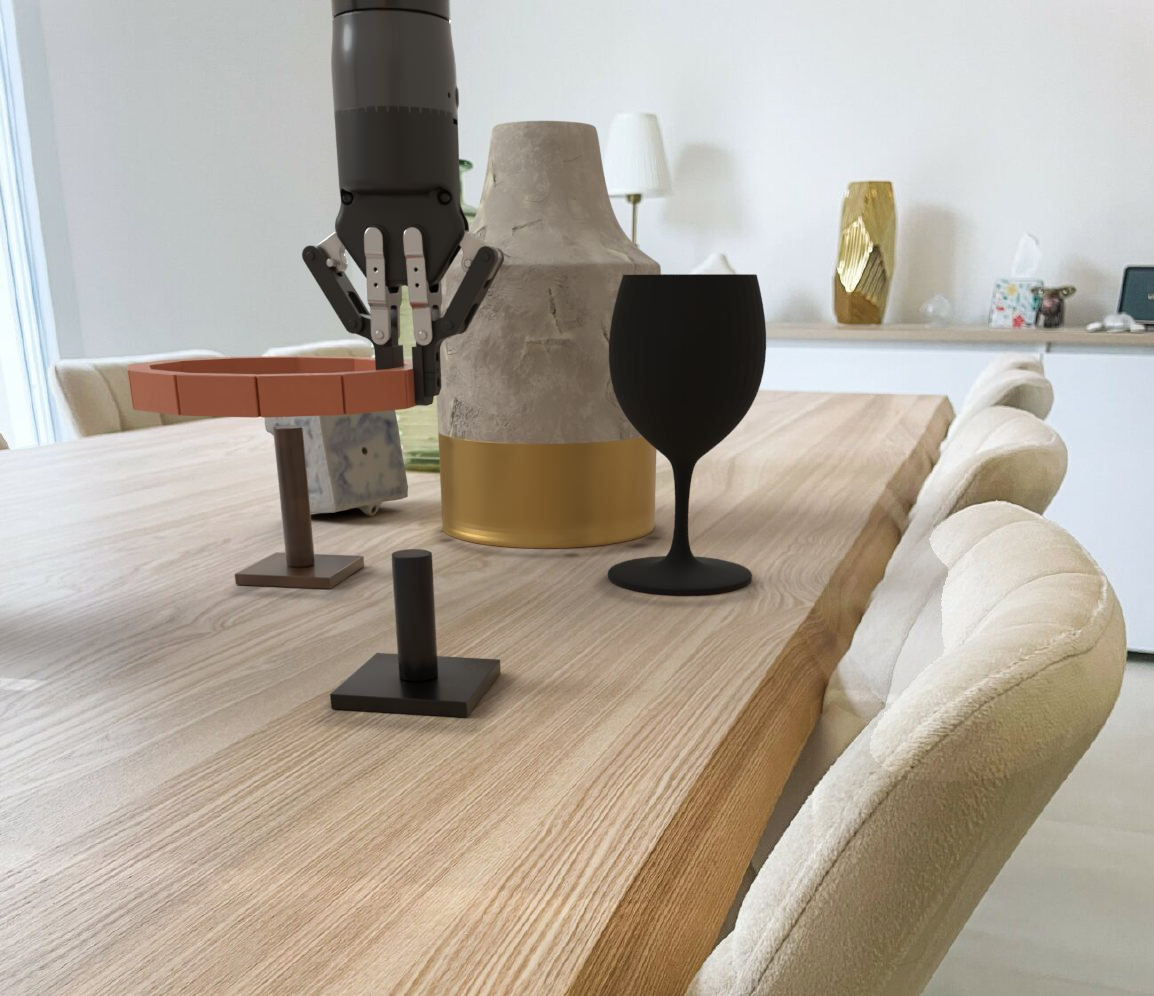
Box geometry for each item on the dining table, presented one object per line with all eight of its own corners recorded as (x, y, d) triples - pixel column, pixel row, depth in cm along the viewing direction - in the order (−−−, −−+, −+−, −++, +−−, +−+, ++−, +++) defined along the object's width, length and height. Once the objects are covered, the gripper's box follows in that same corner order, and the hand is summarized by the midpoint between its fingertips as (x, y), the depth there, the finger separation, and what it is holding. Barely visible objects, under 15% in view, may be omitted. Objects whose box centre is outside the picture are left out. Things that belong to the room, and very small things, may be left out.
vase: (407, 540, 95) (382, 116, 83) (488, 502, 111) (477, 143, 99) (623, 554, 90) (629, 106, 78) (675, 512, 106) (687, 135, 94)
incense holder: (348, 500, 112) (339, 387, 108) (412, 508, 108) (405, 392, 104) (270, 515, 105) (258, 395, 100) (335, 525, 100) (325, 401, 96)
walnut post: (235, 584, 81) (217, 431, 77) (276, 562, 87) (261, 420, 83) (330, 589, 80) (316, 433, 76) (364, 566, 86) (354, 421, 82)
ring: (72, 413, 71) (66, 372, 70) (215, 387, 89) (211, 354, 88) (371, 420, 68) (369, 378, 67) (458, 392, 86) (457, 358, 85)
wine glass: (581, 570, 85) (581, 274, 77) (700, 555, 89) (712, 274, 81) (654, 602, 76) (662, 274, 68) (782, 584, 81) (803, 274, 73)
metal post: (330, 709, 57) (318, 566, 55) (377, 666, 64) (368, 536, 61) (467, 717, 56) (461, 572, 53) (500, 673, 63) (497, 541, 60)
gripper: (265, 102, 68) (292, 407, 75) (489, 98, 66) (496, 412, 73) (313, 118, 75) (334, 397, 82) (518, 115, 73) (521, 401, 80)
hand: (410, 403), depth 77 cm, fingers closed on ring, 1 cm apart
